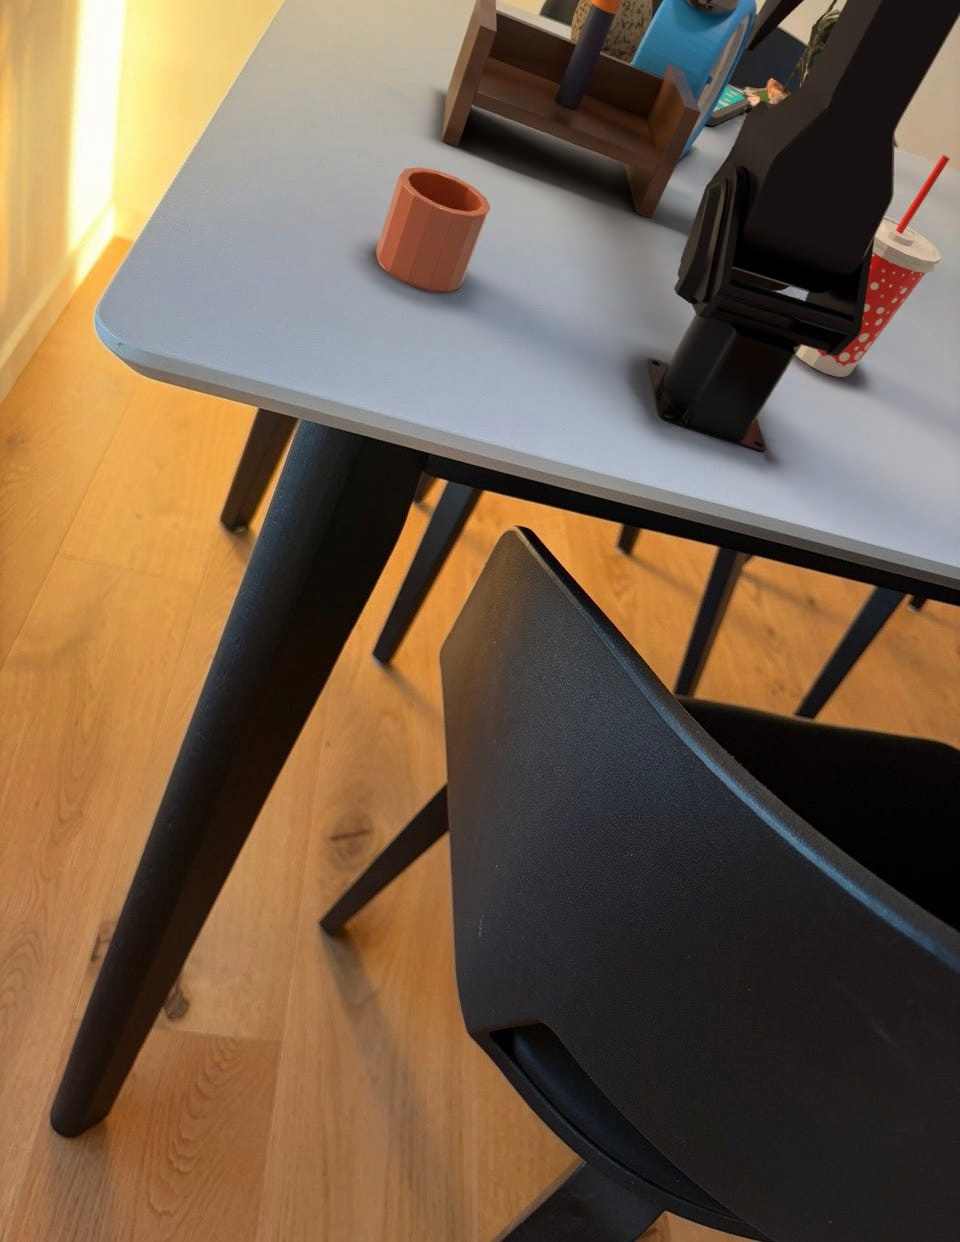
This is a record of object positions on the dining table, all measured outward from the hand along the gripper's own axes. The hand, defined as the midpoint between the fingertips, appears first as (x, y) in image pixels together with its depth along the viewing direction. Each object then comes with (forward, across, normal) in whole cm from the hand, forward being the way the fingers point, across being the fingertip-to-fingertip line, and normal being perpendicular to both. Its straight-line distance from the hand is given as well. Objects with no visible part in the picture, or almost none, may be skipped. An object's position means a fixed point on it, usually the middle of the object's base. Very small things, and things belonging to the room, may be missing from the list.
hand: (686, 24), depth 74 cm
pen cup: (+13, +14, +22) cm, 29 cm away
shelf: (+12, +5, -5) cm, 14 cm away
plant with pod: (+12, -25, -42) cm, 50 cm away
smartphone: (+12, -14, -38) cm, 42 cm away
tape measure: (+13, -9, +5) cm, 17 cm away
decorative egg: (+12, -2, -33) cm, 35 cm away
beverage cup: (+13, -14, +14) cm, 24 cm away
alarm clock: (+12, -5, -17) cm, 21 cm away
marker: (+8, +5, -5) cm, 11 cm away
